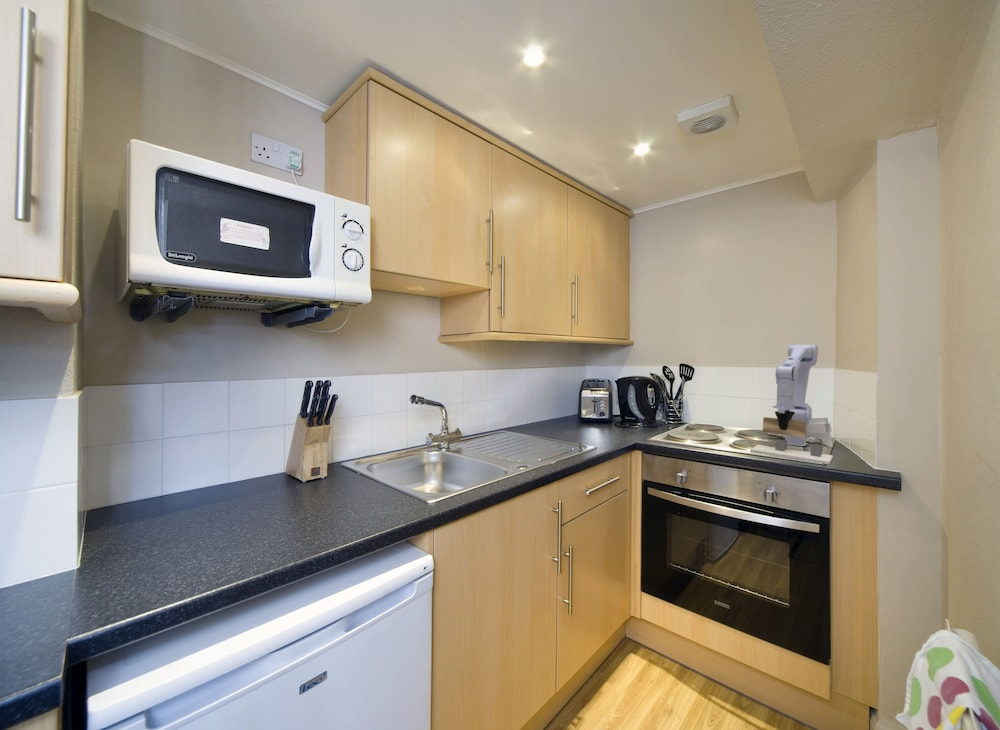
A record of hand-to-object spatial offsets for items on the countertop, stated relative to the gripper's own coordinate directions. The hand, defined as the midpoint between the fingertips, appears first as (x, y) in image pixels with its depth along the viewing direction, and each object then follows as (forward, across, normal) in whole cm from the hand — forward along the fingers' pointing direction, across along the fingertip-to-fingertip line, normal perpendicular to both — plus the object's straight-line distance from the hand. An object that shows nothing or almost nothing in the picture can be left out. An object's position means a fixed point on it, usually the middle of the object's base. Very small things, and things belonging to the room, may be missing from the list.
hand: (784, 429), depth 161 cm
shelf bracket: (+9, -28, 0) cm, 29 cm away
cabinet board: (+8, +7, +4) cm, 12 cm away
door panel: (+2, 0, 0) cm, 2 cm away
